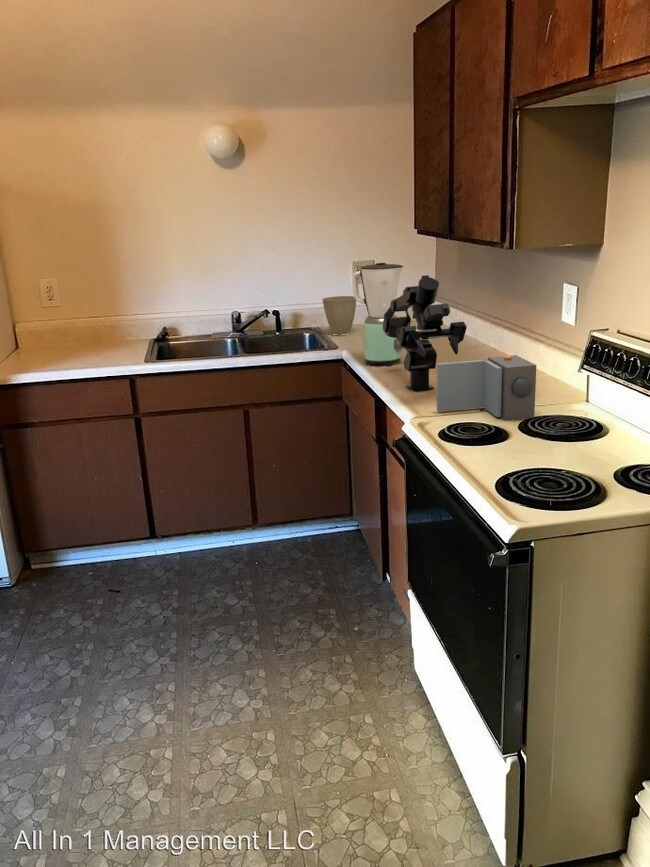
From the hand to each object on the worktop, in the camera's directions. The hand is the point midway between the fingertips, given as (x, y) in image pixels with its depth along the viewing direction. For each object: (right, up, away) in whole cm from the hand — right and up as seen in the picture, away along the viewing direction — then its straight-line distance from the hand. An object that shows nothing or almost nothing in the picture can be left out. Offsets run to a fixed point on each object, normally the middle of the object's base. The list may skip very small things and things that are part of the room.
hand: (441, 354), depth 198 cm
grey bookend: (+6, -16, -7) cm, 19 cm away
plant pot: (-25, +22, +118) cm, 122 cm away
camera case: (+17, -16, -7) cm, 25 cm away
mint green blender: (-12, +3, +59) cm, 61 cm away
